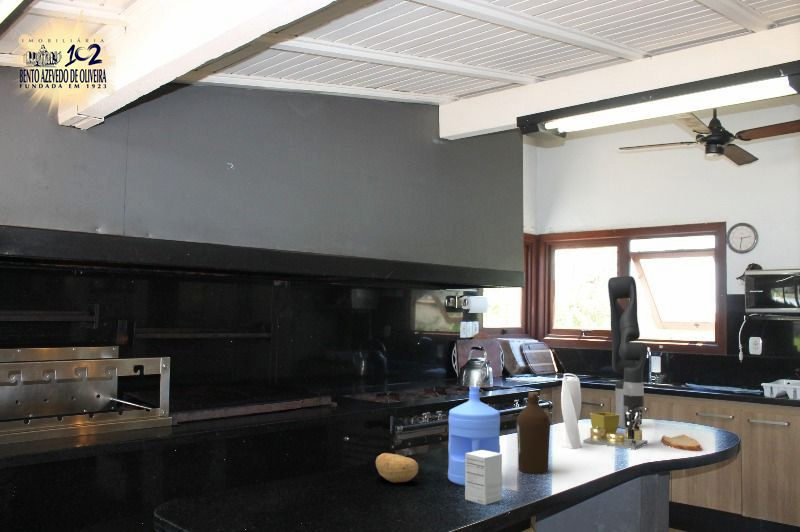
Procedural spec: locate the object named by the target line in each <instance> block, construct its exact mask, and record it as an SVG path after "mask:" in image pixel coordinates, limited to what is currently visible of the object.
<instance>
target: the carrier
mask: <svg viewBox="0 0 800 532" xmlns="http://www.w3.org/2000/svg"><path fill="white" fill-rule="evenodd" d="M589 430H590V433H589V435H590V436H589V437H587V438H585V439H583V444H586V443H588V444H589V445H594V444H598V445H597V446H602V445H607V446H606V447H609V446H615V447H614V448H617V447H622V448H621V449H625V448H631V449H630V450H632V449H635V450H637V449H639V448H641V447H643V446H642V445H644V444H646V445H647V443H648V439H647V440H646V439H642V440H628V439H626V433H621V432H616V433H614V432H610V433H606V435H605V429H603V428H600V427H596V428H592V427H590V429H589ZM588 444H587V445H588ZM640 446H641V447H640ZM644 446H645V445H644ZM638 447H639V448H638ZM636 448H637V449H636Z"/></svg>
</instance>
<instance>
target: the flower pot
mask: <svg viewBox="0 0 800 532" xmlns="http://www.w3.org/2000/svg"><path fill="white" fill-rule="evenodd" d="M589 416H590V417H589V418H590V423H591V428H596V427H600V428H603V429H605V435H606V433H610V432H614V433H617V430H618V429H619V427H618V424H619V415H618V414H616V413H612V412H603V411H602V412H590V413H589Z"/></svg>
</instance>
